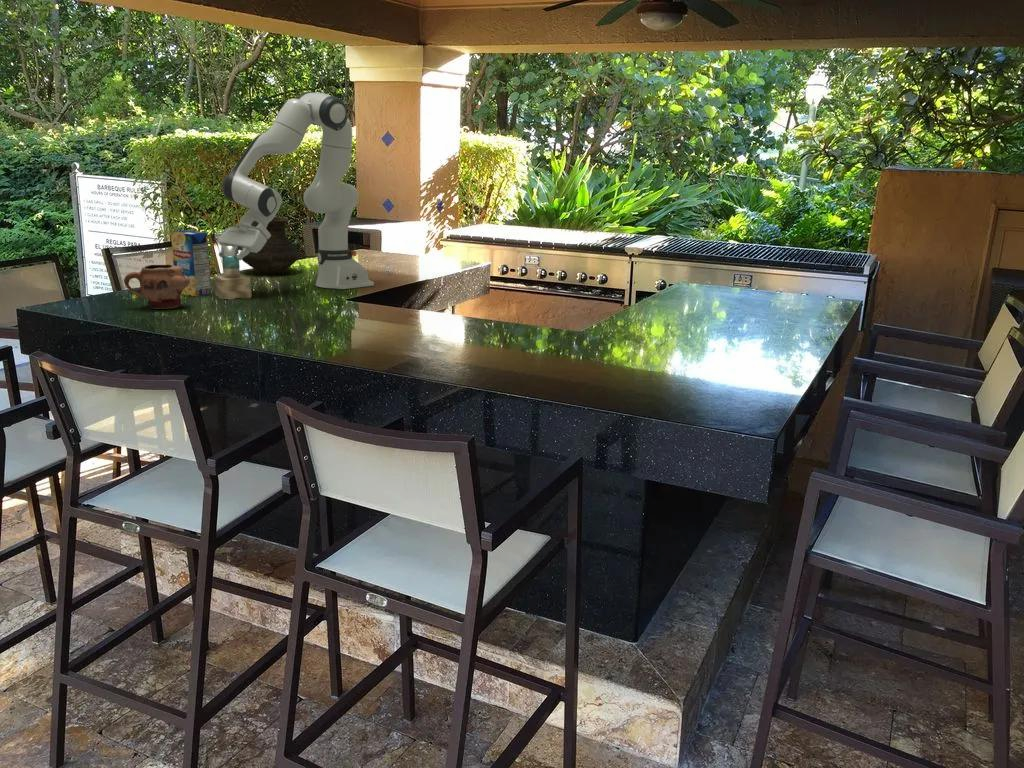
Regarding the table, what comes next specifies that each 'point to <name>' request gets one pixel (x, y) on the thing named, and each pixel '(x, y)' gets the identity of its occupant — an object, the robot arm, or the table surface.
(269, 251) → the ceramic pot
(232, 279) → the oak block
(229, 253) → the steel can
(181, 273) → the decorative planter
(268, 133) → the robot arm
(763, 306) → the table surface
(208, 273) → the beverage box
